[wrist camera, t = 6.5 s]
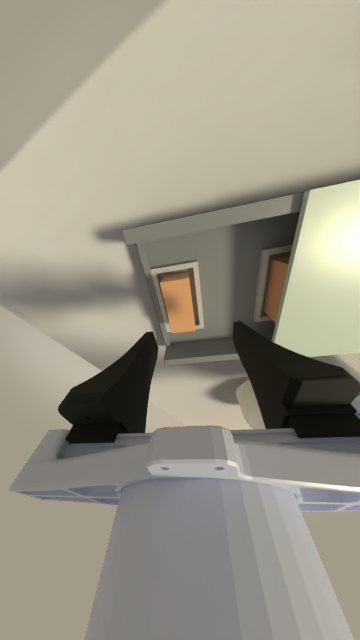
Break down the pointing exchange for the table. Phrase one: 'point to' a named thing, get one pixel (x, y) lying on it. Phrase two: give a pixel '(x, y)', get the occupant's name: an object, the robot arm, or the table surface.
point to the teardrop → (249, 405)
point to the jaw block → (178, 301)
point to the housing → (220, 272)
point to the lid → (323, 276)
